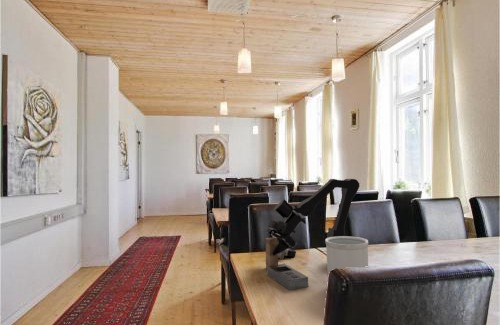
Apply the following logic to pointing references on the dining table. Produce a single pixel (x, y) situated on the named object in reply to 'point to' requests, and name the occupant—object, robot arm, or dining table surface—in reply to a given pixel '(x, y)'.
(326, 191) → the robot arm
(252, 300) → the dining table surface
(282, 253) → the caster wheel
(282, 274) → the grey peg hole block
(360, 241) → the utensil holder
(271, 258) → the walnut peg
